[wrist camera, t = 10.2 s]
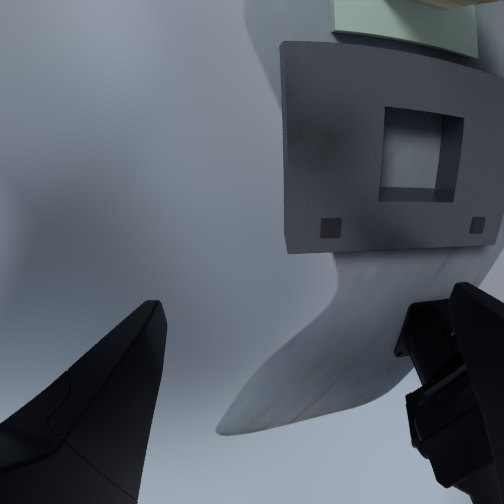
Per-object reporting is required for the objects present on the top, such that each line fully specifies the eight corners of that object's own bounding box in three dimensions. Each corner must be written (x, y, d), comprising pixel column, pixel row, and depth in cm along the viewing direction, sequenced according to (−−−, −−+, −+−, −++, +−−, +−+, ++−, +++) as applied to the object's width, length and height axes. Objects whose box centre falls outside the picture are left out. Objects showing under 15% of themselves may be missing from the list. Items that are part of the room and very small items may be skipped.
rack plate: (478, 229, 21) (495, 245, 18) (284, 234, 21) (287, 255, 19) (498, 80, 15) (521, 85, 12) (279, 46, 15) (283, 40, 13)
